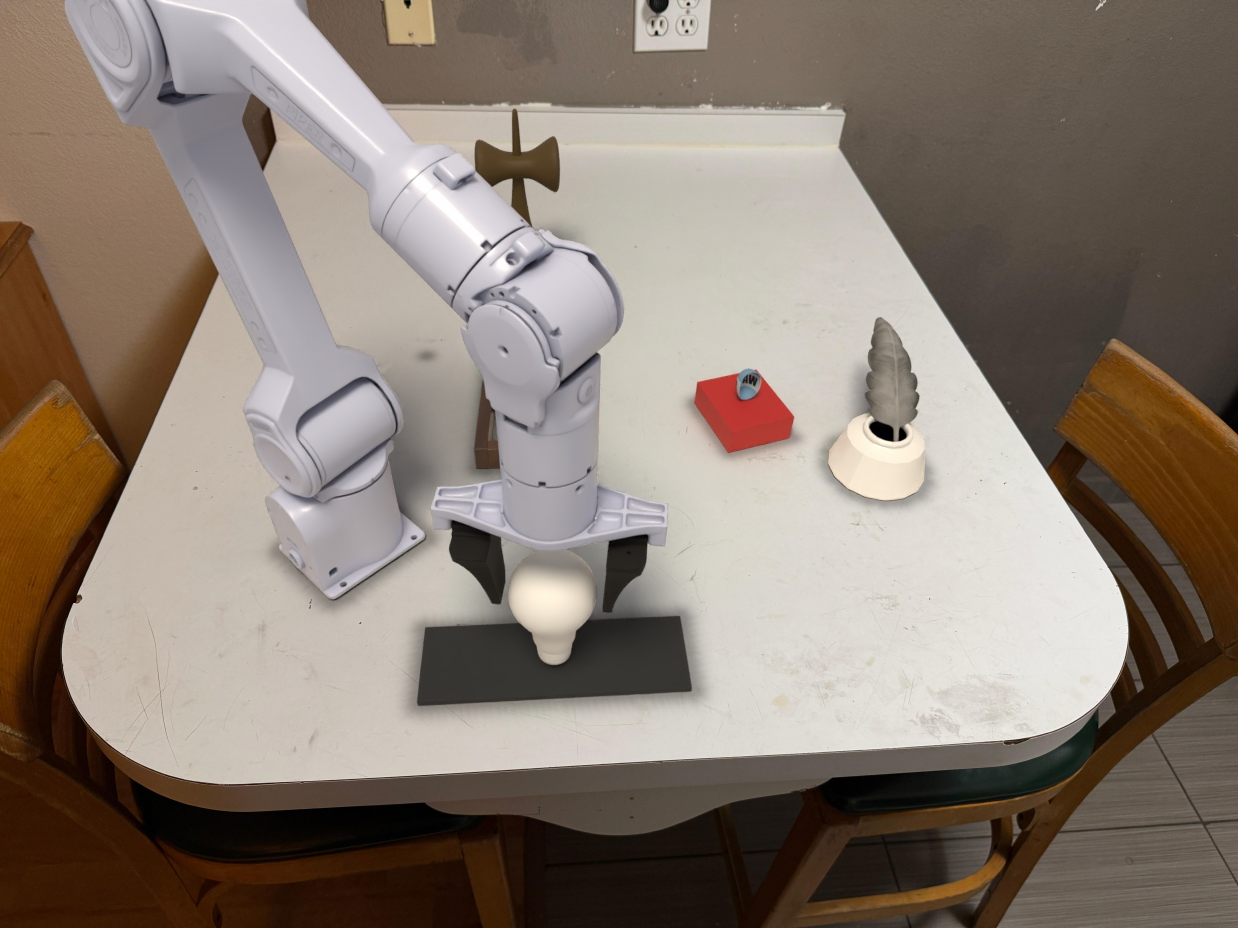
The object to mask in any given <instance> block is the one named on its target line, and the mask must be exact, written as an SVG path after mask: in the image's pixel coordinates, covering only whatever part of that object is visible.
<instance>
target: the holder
mask: <svg viewBox="0 0 1238 928" xmlns="http://www.w3.org/2000/svg"><path fill="white" fill-rule="evenodd" d="M480 389H481V390H480V398H479V406H478V414H477V420H476V421H477V422H476V430H475V437H474V444H473V445H474V446H473V453H474V462H475V468H476V469H500V460H499V448H498V440H493V434H494V433H493V432H494V424H495V423H494V422H495V415H496V414H495V410H494V409H493V408H492V407H491V404H490V401H489V400H488V399H487V398H486V394H485V385H484V380H483V379H482V381H481V388H480Z"/></svg>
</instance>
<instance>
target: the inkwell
mask: <svg viewBox="0 0 1238 928" xmlns="http://www.w3.org/2000/svg"><path fill="white" fill-rule="evenodd" d="M872 331H873V333H872V335H871V339H870V346H871V348H870V349H869V350H868V352H867V364H868V366H869V368H870V370H871V371H868V372H867V373H866V376H865V384H866V386H867V388H868V389H869V390H867V391H865V392H864V398H865V401H866V402H867V404H868V405H869V407H870V408H867V411H868V412H867V413H866V412H865V413H863V414H860V415H858V416H856V417H853V418H852V420H851V421H850V422H849V423H848V425H847V426H846V427H845V428H844V430H843V431H842V432H841V434H840V435H839V437H838V438H837V439H836V440H835V442H834V443H833V445H832V446H831V448H830V449H829V450H828V459H827V464H828V466H829V468H830V470H831V473H832V474H833V476H834V478H835V479H836V480H837V481H838V482H840V483H841V484H842V485H843V486H844V487H845V488H847V490H848V491H852V492H853V493H856V494H857V495H858V494H859V495H860V496H862V497H864V498H869V499H874V500H878V501H879V500H880V501H885V502H886V501H894V500H903V499H905V498H908V497H909V496H911V495H913V494H916V493H917V492H918V491H919V490H920V488H921V486H922V485H923V483H924V482H925V468H926V467H925V465H926V446H925V438H924V436H923V435H922V433H921V431H920V429H918V427H916V426H914V424H912V422H913V421H914V420H915V419H916V418H917V416H918V413H919V410H918V409H916V408H917V407H918V405H919V402H920V394H919V392H918V391H916V390H917V388H918V383H919V381H918V377H917V375H916V373H915V372H912V361H911V357H910V355H909V353H908V351H907V350H906V348H905V347H904V345H903V341H902V339H901V337H900V336H899V334H898V333H897V331H896V330H895V329H894V327H893V325H891V323H890V322H889V321H887V320H886V319H884V318H883V317H882V316H878V317H877V318H875V321H874V325H873V329H872Z"/></svg>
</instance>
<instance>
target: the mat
mask: <svg viewBox="0 0 1238 928" xmlns="http://www.w3.org/2000/svg"><path fill="white" fill-rule="evenodd" d="M684 637H685V636H684V631H683V624H682V619H681V615H669V616H668V615H667V616H666V615H665V616H664V615H663V616H644V617H643V616H642V617H622V618H621V617H620V618H602V619H587V621H586V622H585V623H584V624H583V625H582V626H581V627H580V628H579V629H577V630H576V634H575V639H574V641H573V643H572V648H571V654H570V656H569V658H568V659H567V660H566V661H565V662H563V663H561V664H558V665H550V664H547V663H545V662H543V661H542V660H541V659H540V657H539V655H538V651H537V645H536V644H535V642H534V640H533V635H532V633H531V632H530V631H528V630H527V629H526V628H525V627H524V626H522V625H521V624H520V623H519V622H512V623H511V622H509V623H490V624H470V625H468V624H467V625H446V626H444V625H443V626H425V627H424V634H423V643H422V652H421V661H420V669H419V670H420V671H419V679H418V689H417V697H416V703H417V704H416V705H417V706H419V707H420V706H438V705H439V706H440V705H457V704H474V703H493V702H494V703H495V702H514V701H531V700H550V699H552V700H553V699H571V698H587V697H590V698H591V697H606V696H608V697H610V696H628V695H645V694H664V693H681V692H682V693H683V692H685V693H686V692H692V689H693V687H692V686H693V685H692V681H691V674H690V668H689V661H688V656H687V650H686V643H685V638H684Z"/></svg>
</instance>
